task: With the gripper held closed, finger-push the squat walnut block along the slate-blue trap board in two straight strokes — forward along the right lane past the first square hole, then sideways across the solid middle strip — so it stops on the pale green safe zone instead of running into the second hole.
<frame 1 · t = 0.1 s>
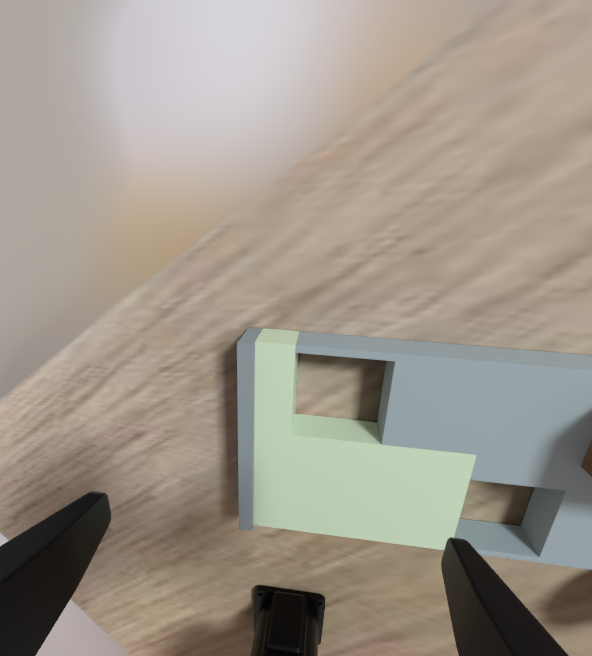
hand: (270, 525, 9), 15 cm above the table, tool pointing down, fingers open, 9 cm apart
trap board: (438, 440, 24), on the table
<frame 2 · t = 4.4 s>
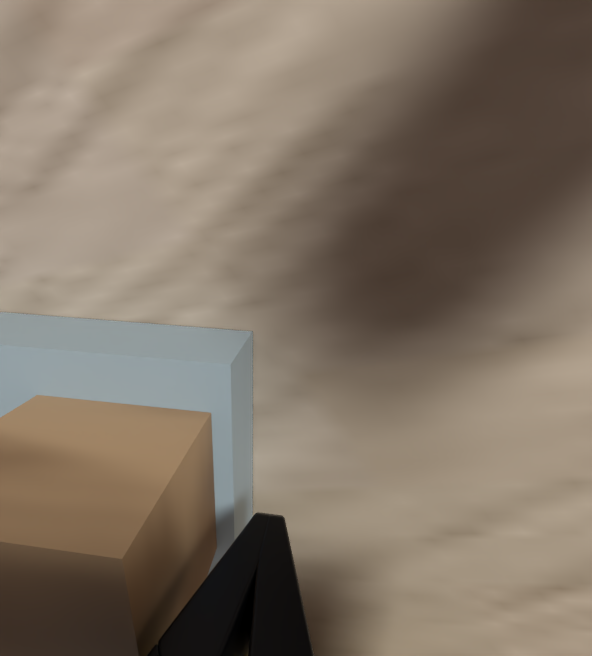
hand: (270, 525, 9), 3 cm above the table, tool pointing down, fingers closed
block: (132, 476, 10), point 3 cm above the table, touching gripper
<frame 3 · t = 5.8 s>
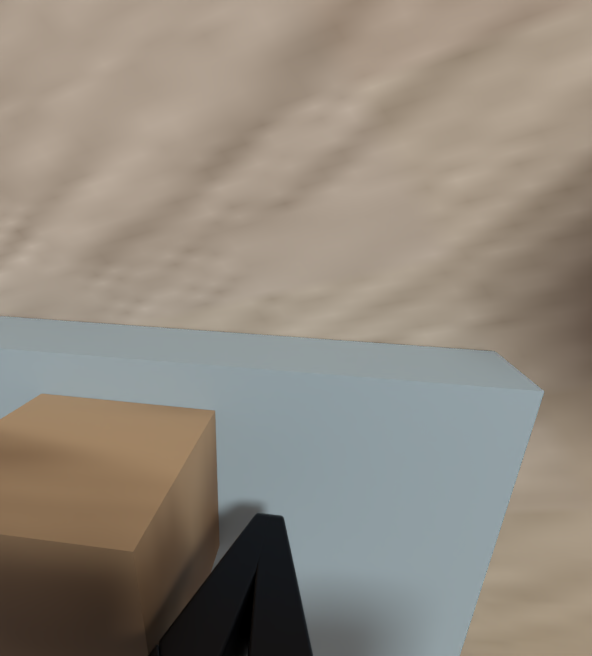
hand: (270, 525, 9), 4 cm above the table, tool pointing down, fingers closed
trap board: (125, 495, 14), on the table
block: (136, 474, 10), point 3 cm above the table, touching gripper
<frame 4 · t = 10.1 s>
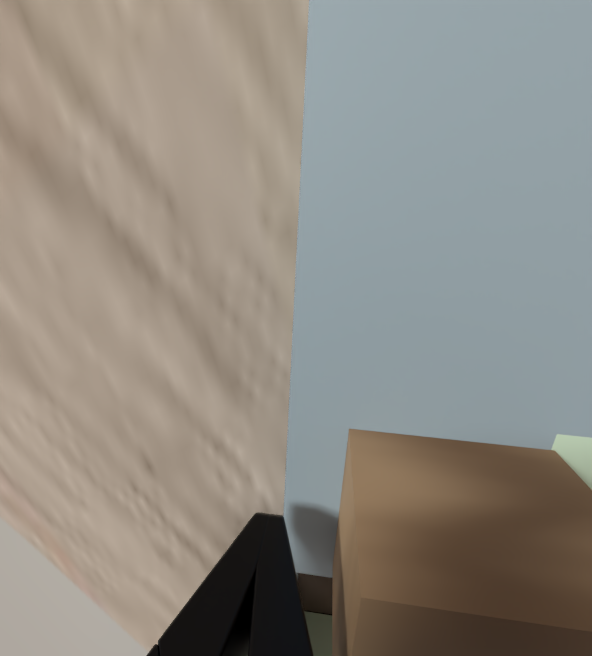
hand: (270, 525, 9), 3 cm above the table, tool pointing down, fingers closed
trap board: (526, 428, 11), on the table
block: (431, 514, 9), point 3 cm above the table, touching gripper
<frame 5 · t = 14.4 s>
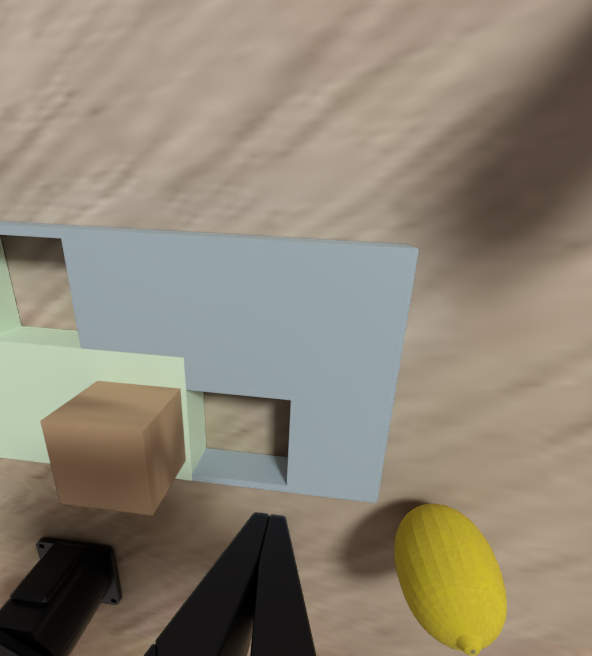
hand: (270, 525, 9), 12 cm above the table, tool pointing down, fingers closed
trap board: (178, 354, 21), on the table
lemon: (425, 505, 23), on the table
block: (143, 421, 20), point 2 cm above the table, touching trap board
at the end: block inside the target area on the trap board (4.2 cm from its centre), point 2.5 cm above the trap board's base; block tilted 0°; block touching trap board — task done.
